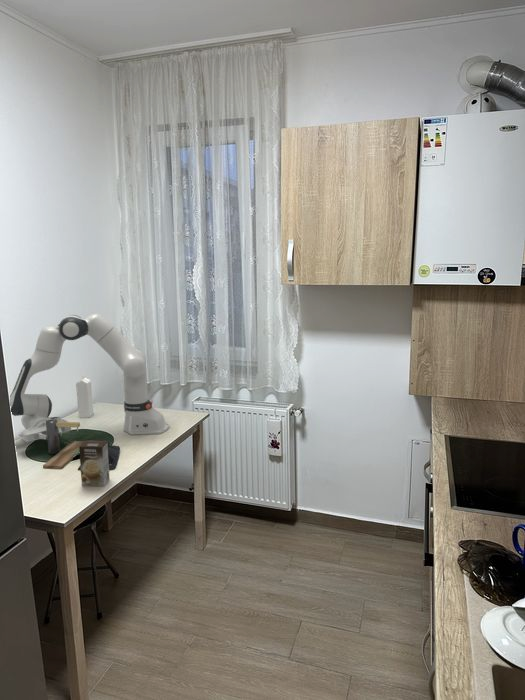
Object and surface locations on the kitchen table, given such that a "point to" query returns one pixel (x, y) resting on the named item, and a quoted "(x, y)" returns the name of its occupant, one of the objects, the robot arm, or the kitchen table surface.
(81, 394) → the milk
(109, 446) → the dark slate chunk
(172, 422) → the kitchen table surface
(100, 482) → the coffee box
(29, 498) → the kitchen table surface
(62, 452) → the board
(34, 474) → the kitchen table surface
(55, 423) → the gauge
